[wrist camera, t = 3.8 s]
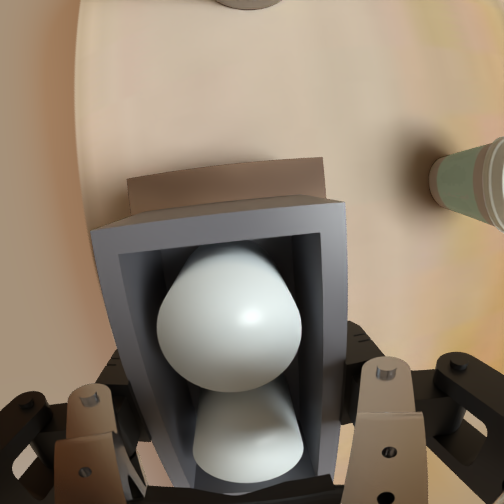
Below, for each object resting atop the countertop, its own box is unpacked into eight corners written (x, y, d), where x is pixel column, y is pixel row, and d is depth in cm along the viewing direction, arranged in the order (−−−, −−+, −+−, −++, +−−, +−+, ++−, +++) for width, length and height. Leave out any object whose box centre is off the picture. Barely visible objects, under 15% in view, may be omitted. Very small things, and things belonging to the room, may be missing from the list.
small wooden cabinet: (162, 181, 27) (126, 178, 18) (292, 167, 28) (322, 157, 18) (182, 319, 30) (163, 374, 20) (302, 306, 30) (331, 356, 21)
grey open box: (144, 211, 11) (90, 231, 6) (301, 194, 11) (345, 201, 6) (191, 426, 13) (181, 500, 8) (309, 415, 13) (332, 486, 9)
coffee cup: (469, 223, 30) (543, 241, 18) (415, 216, 29) (493, 233, 18) (473, 153, 28) (547, 150, 17) (419, 137, 28) (497, 122, 16)
